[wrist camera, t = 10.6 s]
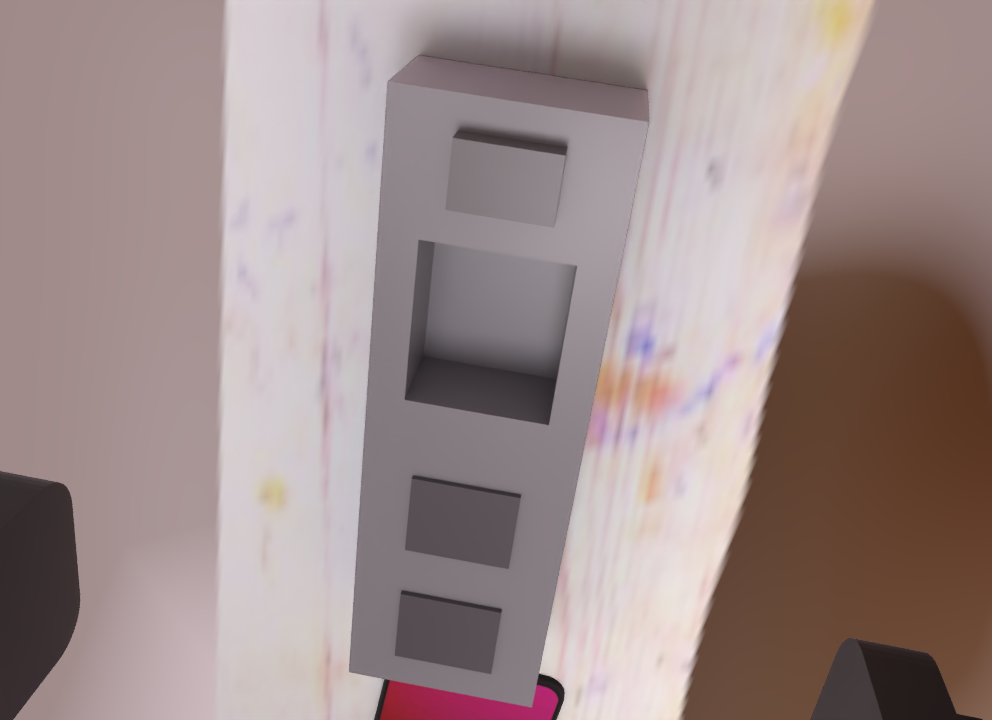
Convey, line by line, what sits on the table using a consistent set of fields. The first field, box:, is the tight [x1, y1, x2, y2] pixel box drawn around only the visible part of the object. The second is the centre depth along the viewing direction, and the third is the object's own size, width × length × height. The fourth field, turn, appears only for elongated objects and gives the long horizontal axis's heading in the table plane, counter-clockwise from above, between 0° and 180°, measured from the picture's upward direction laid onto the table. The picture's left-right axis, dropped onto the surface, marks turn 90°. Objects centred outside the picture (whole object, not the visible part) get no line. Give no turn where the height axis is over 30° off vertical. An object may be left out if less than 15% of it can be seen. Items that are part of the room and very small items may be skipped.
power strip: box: [349, 55, 649, 707], centre depth 31 cm, size 22×7×5 cm, turn 174°
